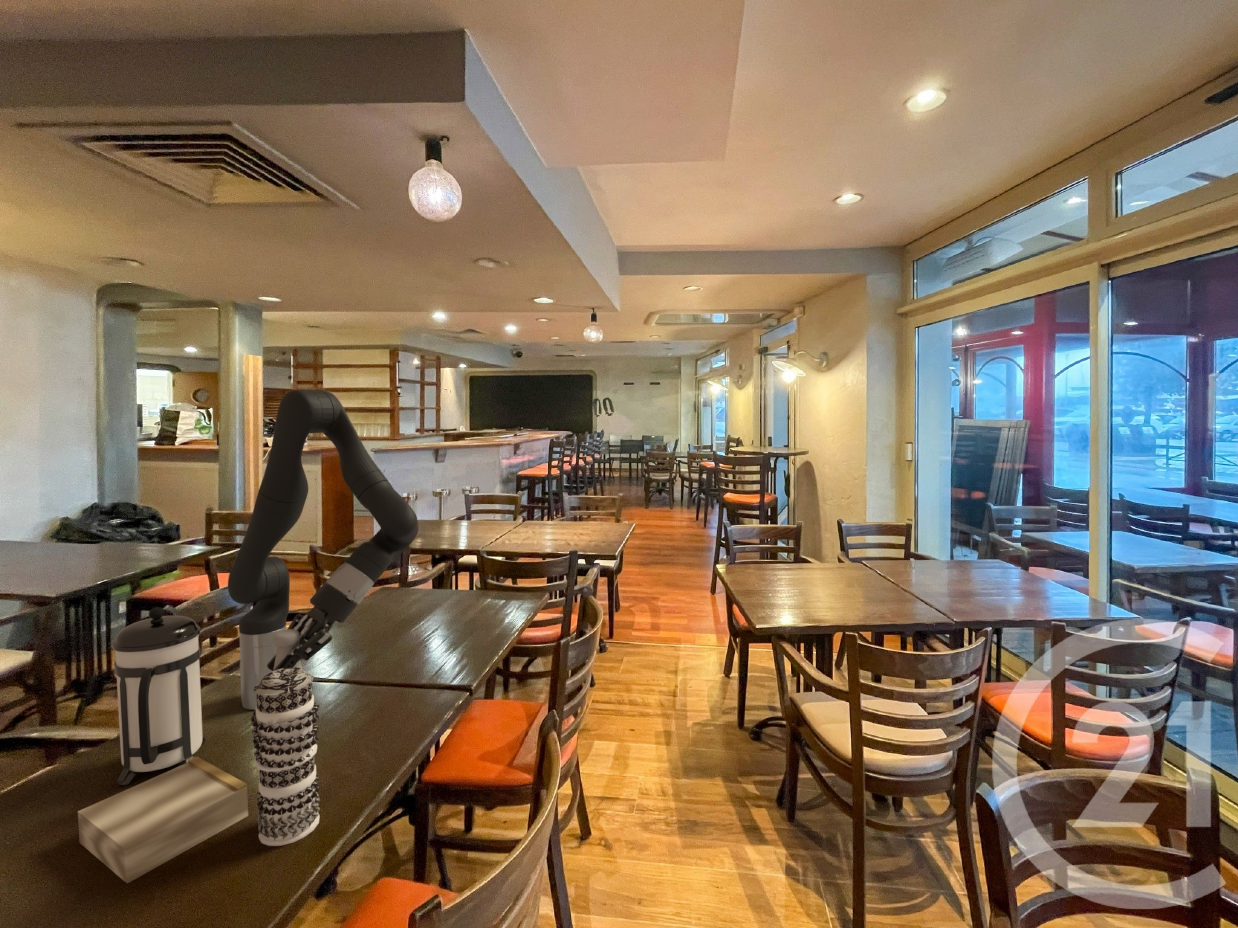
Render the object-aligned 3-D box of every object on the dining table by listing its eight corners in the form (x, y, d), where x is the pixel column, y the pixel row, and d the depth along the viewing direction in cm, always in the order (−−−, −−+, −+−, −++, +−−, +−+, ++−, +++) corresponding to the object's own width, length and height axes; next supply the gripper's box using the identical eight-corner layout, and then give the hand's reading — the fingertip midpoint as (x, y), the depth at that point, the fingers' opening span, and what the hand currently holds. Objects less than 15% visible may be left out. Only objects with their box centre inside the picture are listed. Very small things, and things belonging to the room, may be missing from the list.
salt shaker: (290, 710, 101) (287, 638, 100) (261, 706, 102) (259, 636, 101) (313, 694, 107) (311, 627, 106) (286, 691, 108) (284, 624, 107)
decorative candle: (294, 851, 86) (288, 689, 84) (240, 843, 87) (234, 684, 86) (335, 811, 95) (330, 663, 93) (285, 804, 96) (280, 659, 95)
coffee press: (85, 779, 103) (75, 616, 101) (181, 735, 118) (174, 592, 116) (145, 803, 96) (136, 629, 95) (238, 753, 111) (232, 602, 109)
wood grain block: (79, 842, 87) (77, 808, 87) (197, 785, 101) (196, 756, 101) (127, 883, 80) (125, 846, 79) (248, 815, 93) (246, 783, 93)
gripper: (314, 574, 113) (245, 651, 105) (343, 588, 104) (269, 675, 96) (343, 594, 118) (278, 670, 110) (372, 610, 108) (304, 695, 100)
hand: (274, 672), depth 103 cm, fingers closed on salt shaker, 3 cm apart
